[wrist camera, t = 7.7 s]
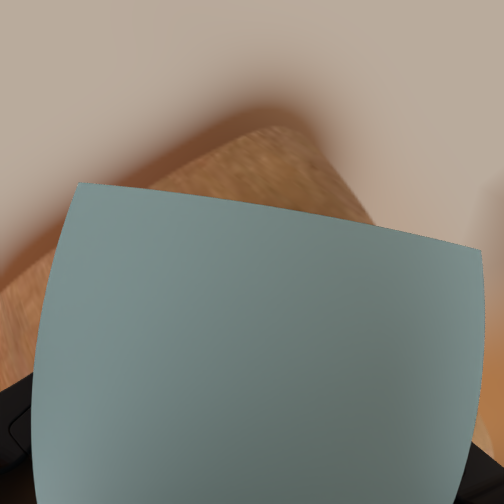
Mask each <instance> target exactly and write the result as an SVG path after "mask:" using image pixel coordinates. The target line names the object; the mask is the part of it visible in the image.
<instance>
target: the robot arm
mask: <svg viewBox="0 0 504 504" xmlns="http://www.w3.org/2000/svg"><path fill="white" fill-rule="evenodd" d="M32 385H33V372H32V373H31V374H29V375H28V376H26V377H25V378H23V379H21V380H20V381H18V382H17V383H15V384H13V385H12V386H10V387H8V388H6V389H5V390H3V391H1V392H0V504H37V499H36V492H35V484H34V474H33V462H32V442H31V405H32ZM453 504H504V467H502V466H501V465H500V464H498V463H497V462H496V461H495V460H494V459H492V458H491V457H490V456H489V455H487V454H486V453H485V452H484V451H482V450H481V449H480V448H479V447H478V446H476V445H475V444H474V443H473V442H472V441H471V445H470V449H469V453H468V457H467V461H466V465H465V468H464V472H463V475H462V478H461V482H460V485H459V488H458V491H457V494H456V497H455V499H454V502H453Z"/></svg>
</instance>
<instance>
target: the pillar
mask: <svg viewBox="0 0 504 504" xmlns="http://www.w3.org/2000/svg"><path fill="white" fill-rule="evenodd" d="M484 333H485V300H484V279H483V266H482V255H481V250H478V249H474V248H470V247H466V246H462V245H458V244H454V243H450V242H446V241H442V240H437V239H433V238H429V237H424V236H420V235H415V234H411V233H407V232H402V231H397V230H393V229H388V228H383V227H379V226H374V225H369V224H364V223H359V222H354V221H349V220H344V219H339V218H334V217H328V216H323V215H317V214H312V213H306V212H301V211H295V210H289V209H283V208H277V207H271V206H265V205H259V204H253V203H246V202H240V201H233V200H226V199H219V198H212V197H205V196H198V195H190V194H183V193H175V192H167V191H159V190H150V189H141V188H132V187H121V186H112V185H102V184H92V183H78V186H77V189H76V191H75V194H74V197H73V199H72V202H71V205H70V208H69V211H68V213H67V216H66V220H65V223H64V225H63V229H62V232H61V235H60V238H59V242H58V245H57V249H56V252H55V256H54V260H53V263H52V267H51V271H50V275H49V279H48V284H47V288H46V293H45V298H44V303H43V308H42V313H41V319H40V325H39V331H38V338H37V345H36V353H35V362H34V372H33V385H32V405H31V442H32V462H33V474H34V484H35V492H36V499H37V504H453V502H454V499H455V497H456V494H457V491H458V488H459V485H460V482H461V478H462V475H463V472H464V468H465V465H466V461H467V457H468V453H469V449H470V445H471V441H472V436H473V431H474V426H475V421H476V416H477V410H478V403H479V396H480V389H481V380H482V370H483V356H484V337H485V334H484Z"/></svg>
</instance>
